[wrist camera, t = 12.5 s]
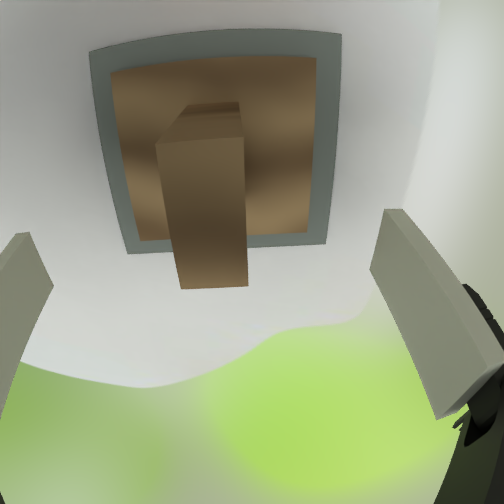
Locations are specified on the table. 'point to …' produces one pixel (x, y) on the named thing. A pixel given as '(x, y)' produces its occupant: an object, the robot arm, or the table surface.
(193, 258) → the lid
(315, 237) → the mat
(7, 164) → the table surface
